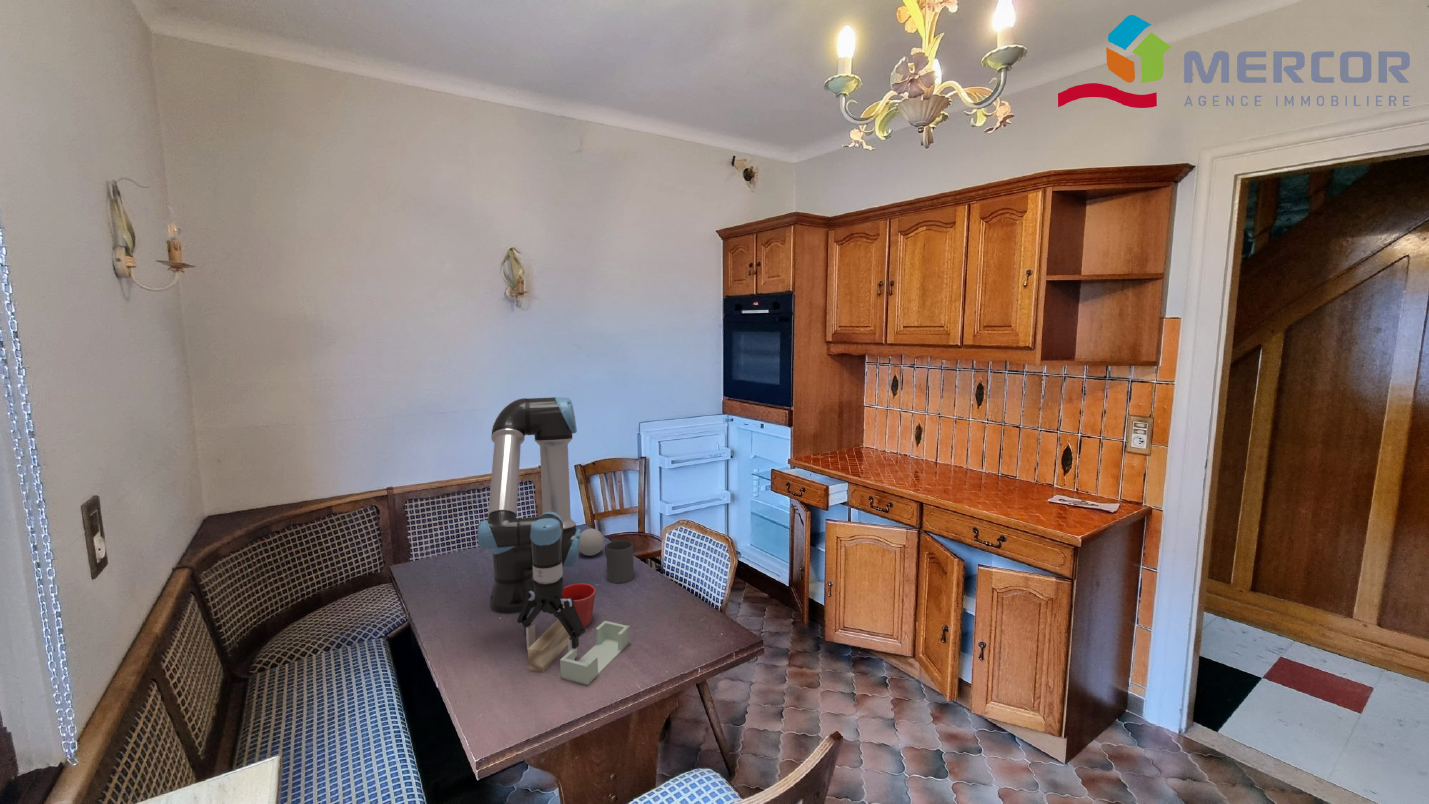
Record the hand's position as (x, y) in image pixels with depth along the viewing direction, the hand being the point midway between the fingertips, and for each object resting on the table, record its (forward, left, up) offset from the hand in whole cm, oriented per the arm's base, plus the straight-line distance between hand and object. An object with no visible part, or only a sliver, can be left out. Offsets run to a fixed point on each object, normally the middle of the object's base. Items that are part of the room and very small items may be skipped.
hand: (552, 653), depth 154 cm
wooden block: (0, 0, 0) cm, 0 cm away
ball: (-28, +59, 0) cm, 66 cm away
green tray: (+13, +2, 0) cm, 13 cm away
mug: (-9, +47, 0) cm, 48 cm away
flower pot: (-3, +16, 0) cm, 17 cm away
